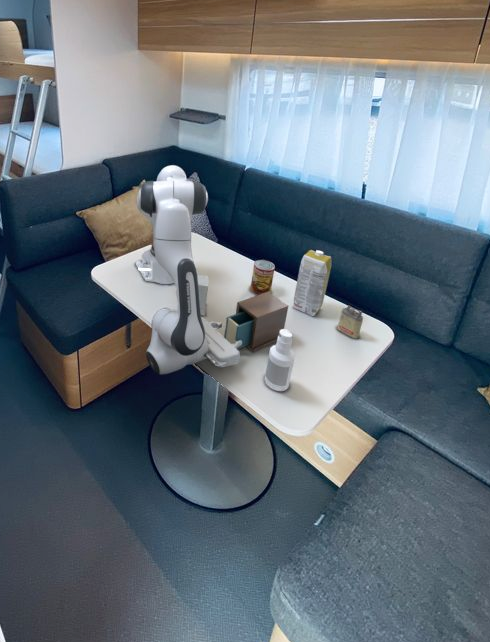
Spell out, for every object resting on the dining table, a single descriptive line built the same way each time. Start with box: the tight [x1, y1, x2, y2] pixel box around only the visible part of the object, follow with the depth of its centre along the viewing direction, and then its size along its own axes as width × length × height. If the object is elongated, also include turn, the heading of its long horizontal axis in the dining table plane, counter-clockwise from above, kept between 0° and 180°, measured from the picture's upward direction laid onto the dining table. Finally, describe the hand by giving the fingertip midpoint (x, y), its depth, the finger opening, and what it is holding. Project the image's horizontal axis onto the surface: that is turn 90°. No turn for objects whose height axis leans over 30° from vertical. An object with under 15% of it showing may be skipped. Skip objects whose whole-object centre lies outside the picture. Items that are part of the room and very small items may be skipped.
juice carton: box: [293, 249, 332, 317], centre depth 151 cm, size 9×8×24 cm
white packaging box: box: [197, 274, 209, 316], centre depth 151 cm, size 7×7×13 cm
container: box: [223, 311, 254, 350], centre depth 135 cm, size 6×14×9 cm, turn 118°
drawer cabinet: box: [235, 292, 289, 352], centre depth 138 cm, size 10×14×13 cm
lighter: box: [336, 304, 364, 339], centre depth 141 cm, size 7×4×10 cm, turn 37°
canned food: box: [250, 259, 276, 296], centre depth 164 cm, size 8×8×12 cm
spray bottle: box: [264, 328, 296, 392], centre depth 118 cm, size 7×7×18 cm
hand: (230, 332), depth 132 cm, fingers open, 8 cm apart
